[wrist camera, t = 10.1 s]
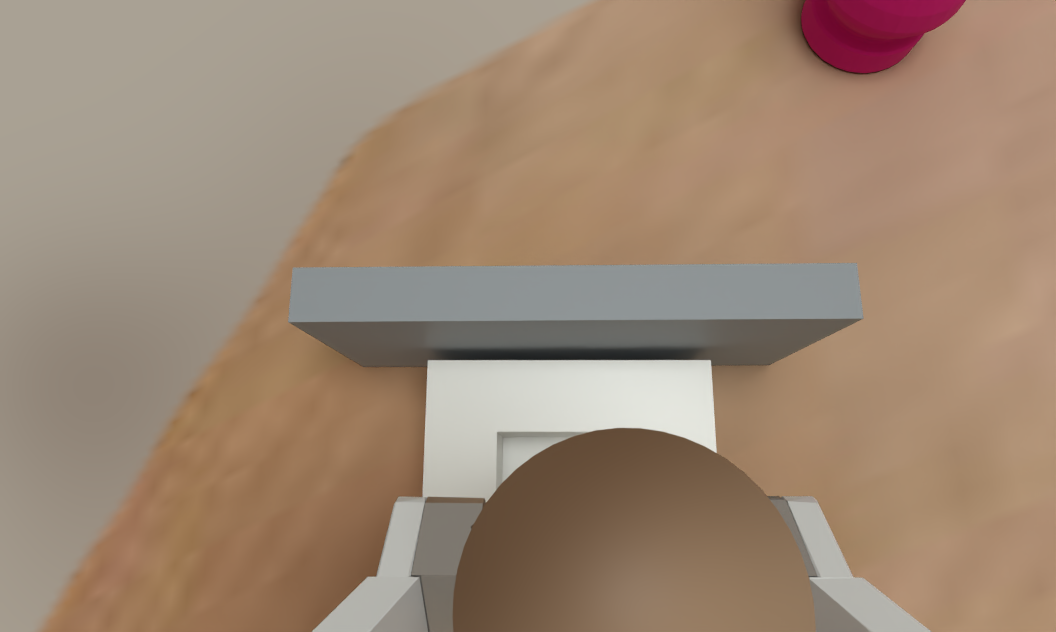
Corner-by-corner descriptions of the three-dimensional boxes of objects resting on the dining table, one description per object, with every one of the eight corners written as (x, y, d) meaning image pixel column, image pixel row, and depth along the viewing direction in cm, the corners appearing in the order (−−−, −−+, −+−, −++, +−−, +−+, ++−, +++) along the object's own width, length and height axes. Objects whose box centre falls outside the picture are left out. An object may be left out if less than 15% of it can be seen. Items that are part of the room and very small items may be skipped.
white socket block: (700, 640, 30) (729, 671, 25) (436, 637, 31) (415, 668, 26) (686, 377, 33) (710, 360, 28) (445, 377, 33) (428, 360, 29)
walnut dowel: (694, 544, 17) (892, 634, 7) (576, 655, 16) (619, 910, 7) (589, 423, 18) (643, 359, 8) (473, 525, 17) (379, 586, 8)
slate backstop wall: (769, 365, 33) (863, 318, 23) (363, 366, 33) (288, 321, 23) (765, 325, 33) (856, 263, 23) (365, 327, 34) (292, 267, 24)
